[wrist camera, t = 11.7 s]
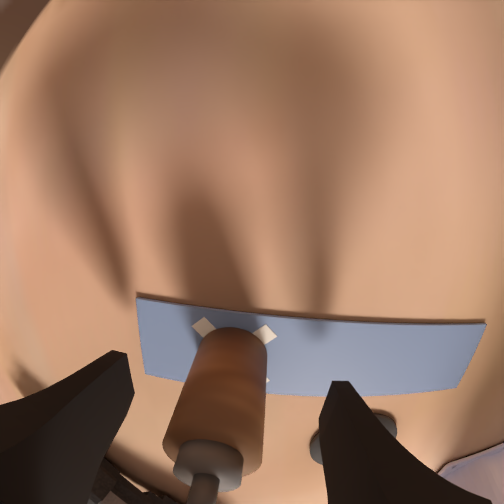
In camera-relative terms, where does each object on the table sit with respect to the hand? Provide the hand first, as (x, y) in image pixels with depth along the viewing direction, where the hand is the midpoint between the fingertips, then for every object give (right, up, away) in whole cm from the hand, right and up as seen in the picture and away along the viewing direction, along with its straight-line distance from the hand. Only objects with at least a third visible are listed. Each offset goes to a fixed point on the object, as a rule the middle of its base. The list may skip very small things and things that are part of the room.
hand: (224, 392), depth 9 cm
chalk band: (+4, 0, +2) cm, 5 cm away
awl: (0, +1, +2) cm, 2 cm away
